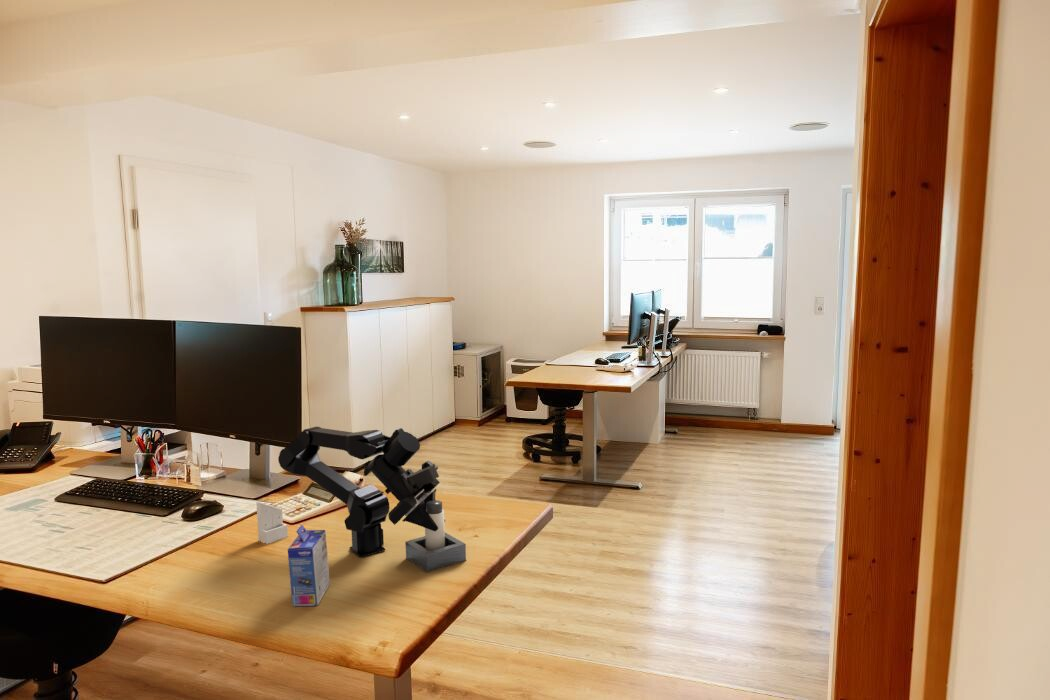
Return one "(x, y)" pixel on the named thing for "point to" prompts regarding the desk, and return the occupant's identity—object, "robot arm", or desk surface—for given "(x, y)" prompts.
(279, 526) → the white wall holder
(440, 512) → the white bottle
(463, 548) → the collar
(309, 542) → the ink cartridge box
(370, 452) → the robot arm
